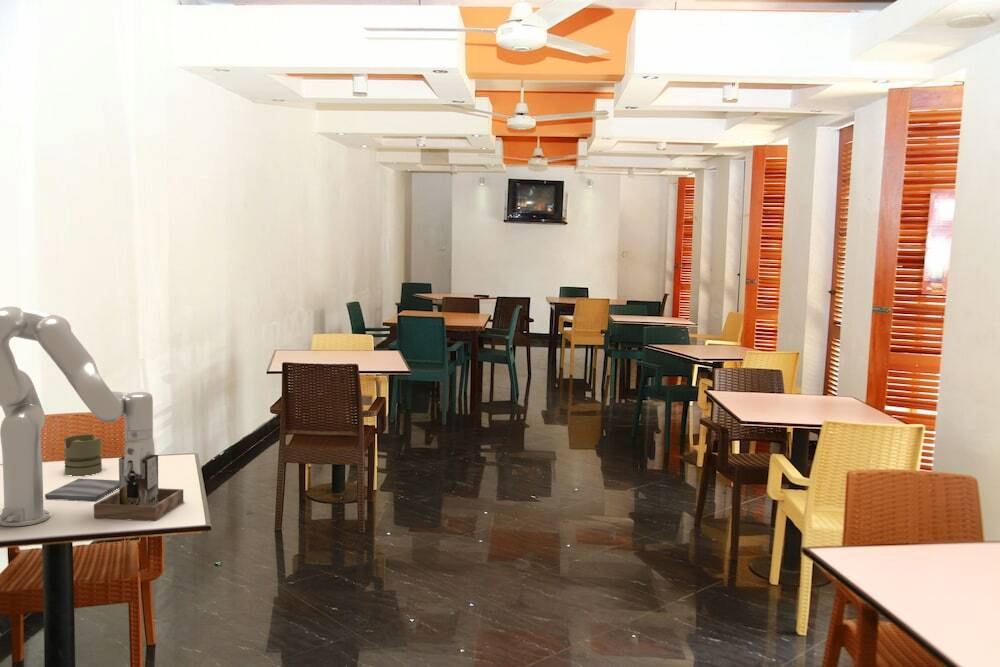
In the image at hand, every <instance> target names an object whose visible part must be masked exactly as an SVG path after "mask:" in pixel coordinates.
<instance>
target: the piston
mask: <svg viewBox="0 0 1000 667" xmlns="http://www.w3.org/2000/svg"><path fill="white" fill-rule="evenodd" d="M63 447H64V448H63V449H64V457H66V458H64V475H65V474H66V475H65V476H67V475H72V476H71V477H73V476H81V477H86V476H85V475H90V476H93V475H92V474H95V475H97V474H96V473H98V474H100V473H101V472H102V469H103V467H102V466H103V465H102V461H103V460H102V455H101V454H102V437H101V436H100V437H97V438H95V434H91V433H90V434H75V435H71V436H68V437H65V438H64V440H63ZM99 472H100V473H99Z"/></svg>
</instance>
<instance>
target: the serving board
mask: <svg viewBox="0 0 1000 667" xmlns="http://www.w3.org/2000/svg"><path fill="white" fill-rule="evenodd" d="M118 488H119V479H116V480H115V479H99V478H98V479H97V478H95V479H93V478H77V479H74V480H73V481H71V482H68V483H67V484H64V485H62V486H60V487H58V488H56V489H53V490H52V491H49V492H47V493H45V494H44V499H45V498H46V499H45V500H52V499H68V500H67V501H75V500H87V501H86V502H98V501H99V500H101V499H103V498H105V497H106V496H105V495H107V494H109V493H111V492H112V493H114V492H115V491H114V490H116V489H118ZM118 490H119V489H118ZM113 491H114V492H113ZM116 491H117V490H116ZM112 493H111V494H112ZM109 495H110V494H109ZM104 496H105V497H104ZM107 496H108V495H107ZM102 497H103V498H102ZM100 498H101V499H100ZM98 499H99V500H98ZM97 500H98V501H97Z"/></svg>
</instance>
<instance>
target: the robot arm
mask: <svg viewBox="0 0 1000 667" xmlns="http://www.w3.org/2000/svg"><path fill="white" fill-rule="evenodd" d="M14 337H15V338H18V339H19V338H20V339H24V340H30V341H34V342H38V344H39V345H40V346H41V348H42V349H43V350H44V351H45V353H46V354H47V355H48V356H49V357H50V359H51V360H52V361H53V362H54V363H55V365H56V367H57V368H58V369H59V370H60V371H61V372H62V373H63V375H64V376H65V378H66V380H67V381H68V383H69V384H70V385H71V387H72V388H73V389H74V391H75V392H76V394H77V395H78V397H79V398H80V399H81V401H82V403H84V405H85V406H86V407H87V408H88V409H89V411H90V412H91V413H92V415H94V417H95V418H96V419H97V420H99V421H101V422H104V423H113V422H116V421H117V420H119V419H120V417H122V416H124V441H125V446H124V447H125V448H124V456H123V457H124V471H125V472H124V474H123V477H124V478H125V481H126V484H127V497H128V498H138V496H139V491H138V484H137V481H138V475H142V474H143V459H146V458H147V457H149V456H151V455H156V453H155V442H154V436H153V435H154V431H153V430H154V429H153V428H154V426H153V424H154V420H153V418H154V416H153V415H154V413H153V412H154V407H153V406H154V403H153V402H154V399H153V395H152V394H151V392H145V391H136V392H135V391H133V392H121V391H113V390H111V389H110V387H109V386H108V385H107V384H106V383H105V380H104V379H103V377H102V376H101V374H100V372H99V370H98V366H97V364H96V361H95V360H94V358H93V356H92V355H91V354H90V353H89V351H88V350H87V349H86V348H85V346H84V345H83V344H82V343H81V341H80V340H79V339H78V338H77V336H76V335H75V334H74V332H73V331H72V327H71V324H70V322H69V321H68V320H67V319H66V318H65V317H62V316H59V315H57V314H51V313H45V312H41V311H36V310H31V309H27V308H22V307H17V306H4V307H0V407H1V408H2V412H3V414H4V416H5V417H4V418H3V420H2V422H1V424H0V444H1V452H2V453H1V454H2V475H3V478H2V479H3V484H2V485H3V508H2V513H1V514H0V525H1V526H3V527H23V526H30V525H35V524H36V525H37V524H39V523H42V522H45V521H47V520H48V519H49V518H50V516H51V514H50V511H49V510H46V509H44V486H43V485H44V484H43V483H44V482H43V481H44V480H43V478H44V477H43V452H42V451H43V450H42V434H41V433H42V429H43V428H44V427H45V424H46V423H45V422H46V414H45V412H44V409H43V405H42V404H41V401H40V398H39V395H38V394H37V391H36V388H35V385H34V383H33V380H32V379H31V377H30V376H29V375H28V373H26V371H23V370H21V369H20V368H19V367H18V365H17V362H16V359H15V356H14V354H13V352H12V350H11V347H10V340H11V339H13V338H14ZM131 471H134V472H135V473H136V474H134V473H131ZM131 476H135V478H134V479H133V478H132V477H131Z"/></svg>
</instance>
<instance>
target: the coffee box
mask: <svg viewBox="0 0 1000 667" xmlns="http://www.w3.org/2000/svg"><path fill="white" fill-rule="evenodd" d="M124 472H125V471H124V456H122V457H120V458H118V480H119V489H118V491H119V493H120V494H119V495H120V505H143V506H154V505H156V504H158V503H159V502H158V488H159V454H155V455H151V456H149V457H147V458H146V459H143V474H142V475H138V481H137V484H138V491H139V496H138V498H128V497H127V484H126V481H125V478H124V477H123V474H124ZM131 473H134V474H136V473H135V472H134V471H131ZM131 477H132V478H133V479H134V478H135V476H131Z"/></svg>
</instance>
